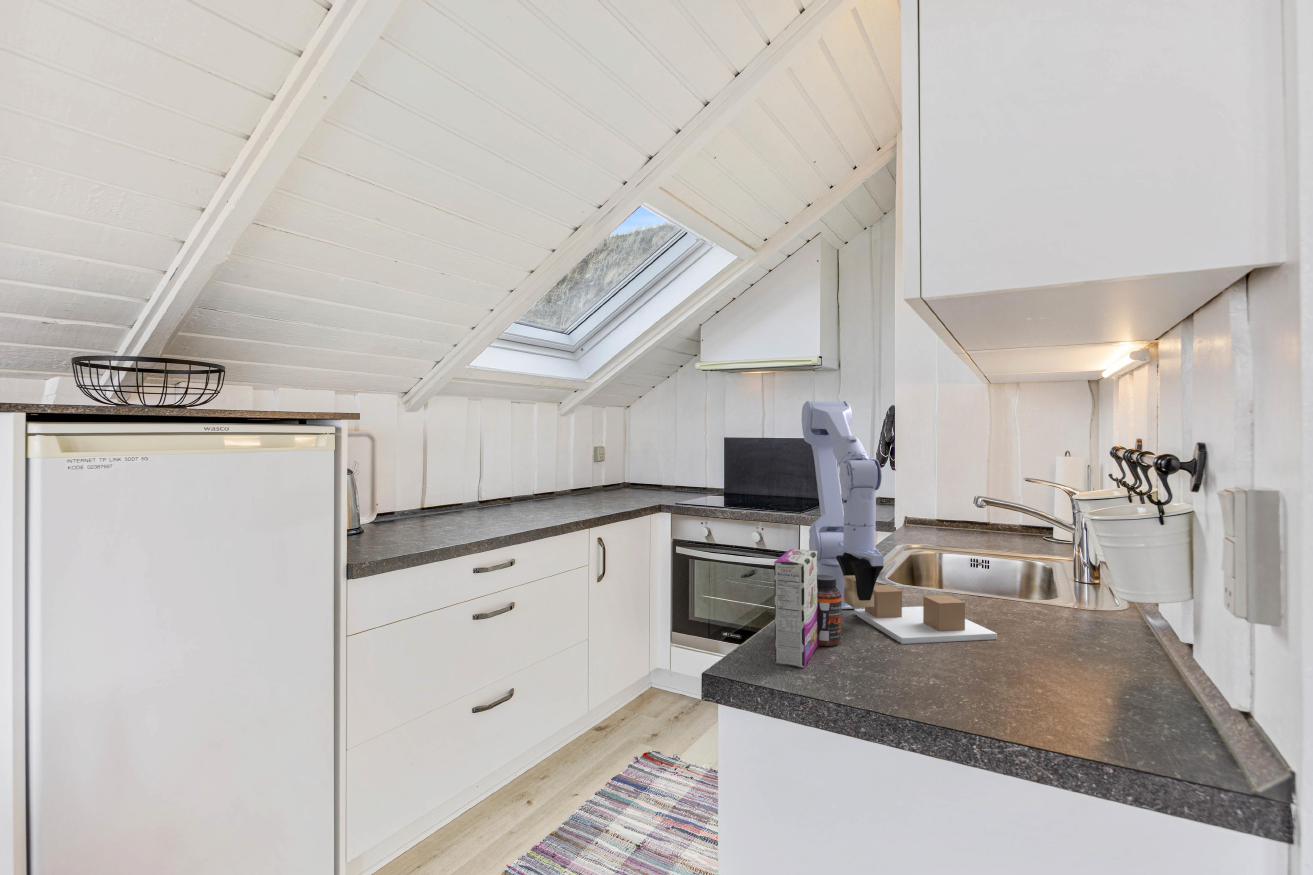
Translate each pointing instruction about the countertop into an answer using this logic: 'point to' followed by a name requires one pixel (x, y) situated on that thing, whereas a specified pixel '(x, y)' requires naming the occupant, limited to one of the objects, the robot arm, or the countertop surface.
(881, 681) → the countertop surface
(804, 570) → the candy bar box
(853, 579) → the block
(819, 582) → the supplement bottle
